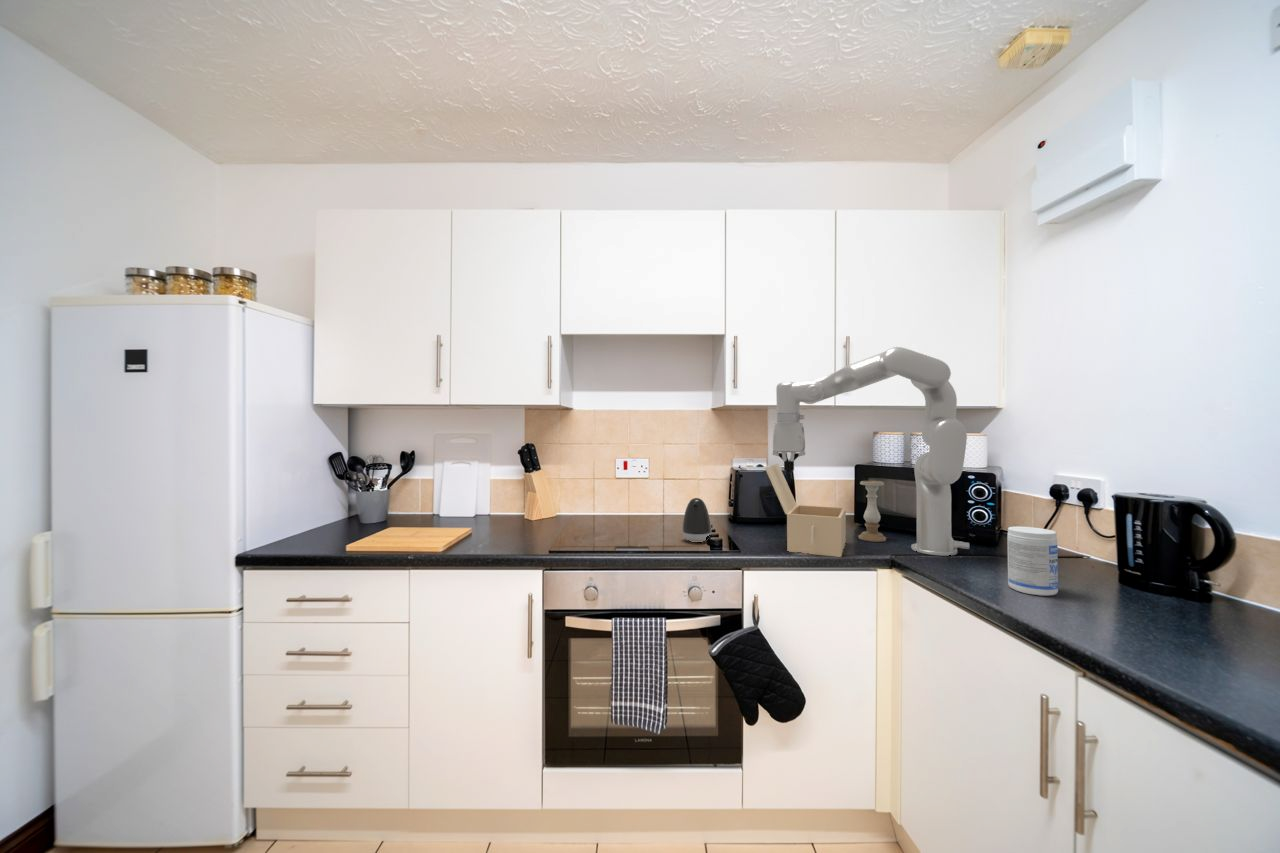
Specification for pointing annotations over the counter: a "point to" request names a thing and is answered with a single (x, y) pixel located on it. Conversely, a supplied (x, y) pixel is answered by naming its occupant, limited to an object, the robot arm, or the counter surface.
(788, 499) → the lid flap
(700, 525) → the dark grey domed cylinder
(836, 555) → the carton
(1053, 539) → the supplement tub
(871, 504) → the candle holder
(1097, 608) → the counter surface
